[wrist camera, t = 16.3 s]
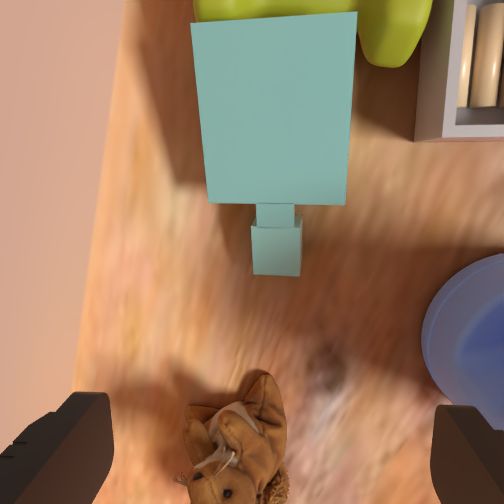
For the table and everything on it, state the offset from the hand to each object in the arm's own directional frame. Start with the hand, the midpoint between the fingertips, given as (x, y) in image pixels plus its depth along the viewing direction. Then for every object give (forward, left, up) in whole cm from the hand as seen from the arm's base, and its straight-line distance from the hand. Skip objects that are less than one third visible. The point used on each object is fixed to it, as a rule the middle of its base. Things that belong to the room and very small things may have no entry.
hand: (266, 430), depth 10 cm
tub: (-14, +16, -27) cm, 34 cm away
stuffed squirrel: (+21, -3, -27) cm, 35 cm away
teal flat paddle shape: (-7, 0, -24) cm, 25 cm away
